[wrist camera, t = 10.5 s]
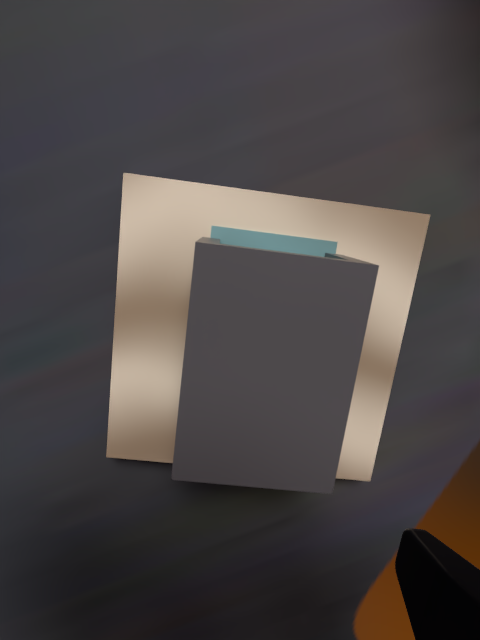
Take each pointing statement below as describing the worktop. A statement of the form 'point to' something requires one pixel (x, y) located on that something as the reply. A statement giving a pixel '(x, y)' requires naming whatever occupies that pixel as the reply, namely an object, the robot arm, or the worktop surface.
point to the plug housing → (269, 366)
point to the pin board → (256, 232)
